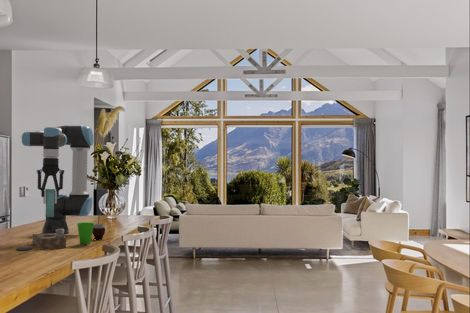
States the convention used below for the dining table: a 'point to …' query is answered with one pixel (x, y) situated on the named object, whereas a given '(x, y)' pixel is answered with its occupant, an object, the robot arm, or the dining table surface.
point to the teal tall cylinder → (49, 202)
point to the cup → (85, 232)
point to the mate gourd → (98, 230)
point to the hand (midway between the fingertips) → (49, 203)
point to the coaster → (23, 248)
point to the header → (50, 240)
